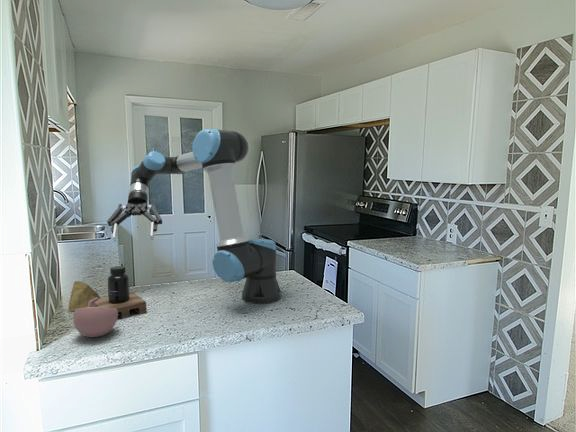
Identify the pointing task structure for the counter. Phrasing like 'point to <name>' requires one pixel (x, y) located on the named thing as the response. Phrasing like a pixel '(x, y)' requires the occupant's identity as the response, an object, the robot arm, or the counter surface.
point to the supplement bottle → (118, 285)
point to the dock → (124, 305)
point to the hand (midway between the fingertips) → (133, 238)
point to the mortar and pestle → (94, 319)
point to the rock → (81, 296)
